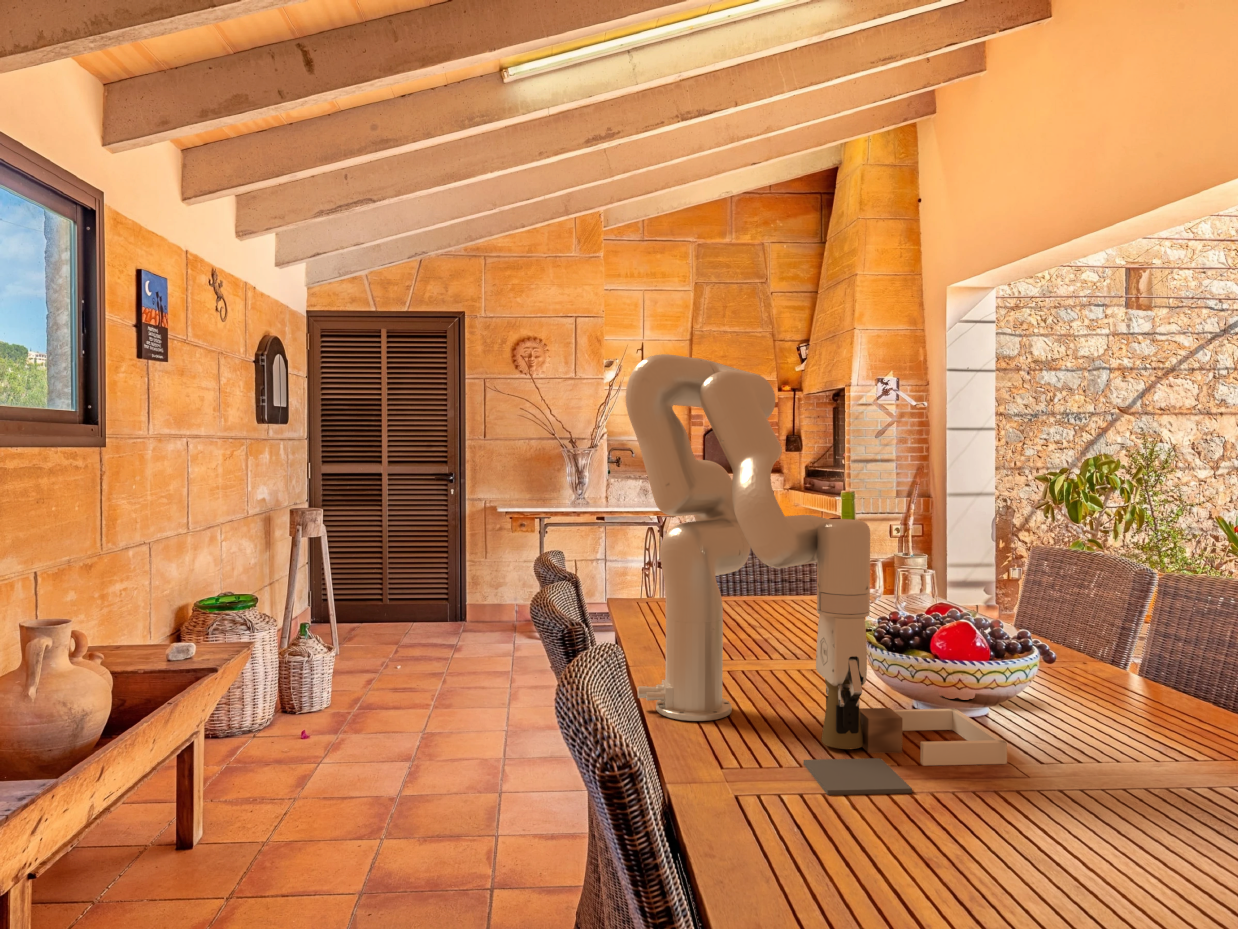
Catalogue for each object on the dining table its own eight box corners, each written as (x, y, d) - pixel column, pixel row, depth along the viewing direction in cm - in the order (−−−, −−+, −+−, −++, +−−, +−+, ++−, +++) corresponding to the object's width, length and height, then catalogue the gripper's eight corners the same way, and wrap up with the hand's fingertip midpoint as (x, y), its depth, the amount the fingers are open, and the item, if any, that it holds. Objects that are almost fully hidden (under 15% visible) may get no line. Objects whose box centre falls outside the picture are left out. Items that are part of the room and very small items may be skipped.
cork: (865, 750, 126) (865, 674, 126) (821, 747, 127) (822, 671, 127) (862, 737, 132) (863, 664, 132) (821, 734, 133) (821, 661, 133)
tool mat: (827, 795, 112) (827, 790, 112) (803, 764, 123) (803, 759, 123) (912, 793, 113) (912, 788, 113) (880, 762, 124) (880, 758, 124)
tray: (923, 765, 122) (923, 744, 122) (881, 729, 138) (881, 709, 138) (1006, 763, 123) (1007, 742, 123) (955, 727, 139) (955, 708, 139)
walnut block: (868, 753, 128) (868, 718, 127) (856, 741, 133) (857, 708, 132) (902, 752, 128) (902, 718, 128) (889, 741, 133) (889, 708, 133)
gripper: (802, 594, 138) (801, 711, 138) (835, 614, 121) (834, 747, 121) (849, 594, 138) (848, 710, 138) (889, 614, 121) (887, 746, 122)
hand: (841, 726), depth 130 cm, fingers closed on cork, 4 cm apart
